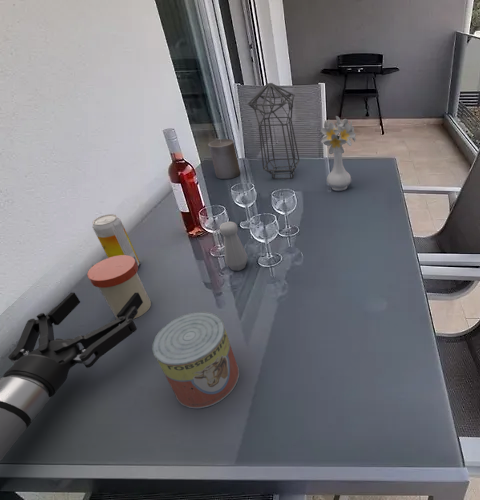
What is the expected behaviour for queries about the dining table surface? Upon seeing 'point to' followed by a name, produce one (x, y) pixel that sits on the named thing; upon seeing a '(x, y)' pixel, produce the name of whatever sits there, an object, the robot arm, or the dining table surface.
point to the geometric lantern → (251, 104)
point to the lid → (112, 271)
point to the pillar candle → (224, 158)
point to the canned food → (197, 359)
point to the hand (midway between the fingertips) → (107, 297)
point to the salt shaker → (233, 247)
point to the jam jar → (126, 295)
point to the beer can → (113, 236)
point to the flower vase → (338, 151)
